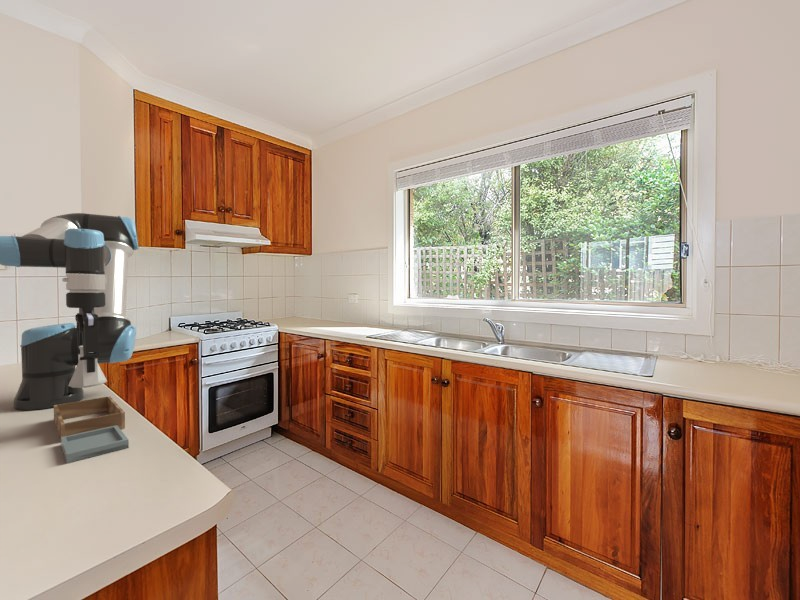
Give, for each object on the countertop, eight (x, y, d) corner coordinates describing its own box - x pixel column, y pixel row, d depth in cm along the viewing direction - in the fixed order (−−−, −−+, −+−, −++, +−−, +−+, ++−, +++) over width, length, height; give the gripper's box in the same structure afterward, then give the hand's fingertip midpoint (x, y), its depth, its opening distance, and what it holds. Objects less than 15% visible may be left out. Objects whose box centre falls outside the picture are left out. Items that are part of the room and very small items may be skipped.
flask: (84, 390, 89) (83, 349, 89) (61, 387, 91) (60, 347, 90) (113, 382, 96) (112, 344, 96) (91, 379, 98) (90, 342, 97)
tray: (60, 445, 81) (60, 437, 81) (117, 432, 88) (117, 425, 88) (66, 463, 73) (66, 454, 73) (128, 447, 80) (128, 439, 80)
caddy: (54, 420, 96) (53, 405, 96) (110, 410, 104) (109, 396, 104) (61, 442, 83) (61, 424, 83) (125, 428, 91) (124, 412, 91)
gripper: (61, 290, 96) (64, 376, 98) (70, 293, 83) (73, 393, 84) (98, 290, 102) (100, 372, 103) (112, 292, 88) (114, 387, 89)
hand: (88, 381), depth 93 cm, fingers closed on flask, 7 cm apart
